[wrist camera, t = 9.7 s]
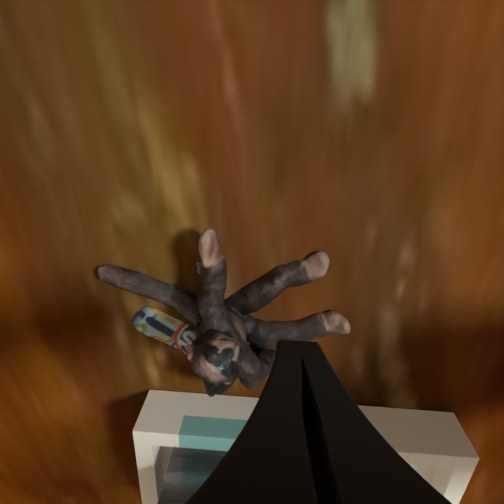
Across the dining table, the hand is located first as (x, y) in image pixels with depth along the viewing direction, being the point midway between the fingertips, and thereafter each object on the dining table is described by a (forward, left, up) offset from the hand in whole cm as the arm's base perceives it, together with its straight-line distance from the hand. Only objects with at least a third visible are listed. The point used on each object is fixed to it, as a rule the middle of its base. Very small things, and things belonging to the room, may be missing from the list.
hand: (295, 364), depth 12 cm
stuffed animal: (+4, +4, -11) cm, 12 cm away
